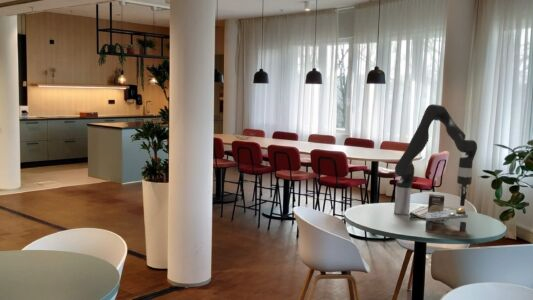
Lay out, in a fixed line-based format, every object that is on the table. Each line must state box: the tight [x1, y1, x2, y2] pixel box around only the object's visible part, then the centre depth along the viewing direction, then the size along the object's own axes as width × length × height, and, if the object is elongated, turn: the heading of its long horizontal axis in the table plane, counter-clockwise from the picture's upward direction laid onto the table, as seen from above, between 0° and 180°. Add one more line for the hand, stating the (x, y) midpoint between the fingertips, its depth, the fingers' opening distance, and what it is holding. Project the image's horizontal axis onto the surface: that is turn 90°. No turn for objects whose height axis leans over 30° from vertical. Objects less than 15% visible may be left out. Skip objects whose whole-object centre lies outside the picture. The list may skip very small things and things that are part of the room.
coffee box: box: [427, 193, 445, 225], centre depth 329 cm, size 9×6×16 cm
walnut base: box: [425, 220, 468, 237], centre depth 310 cm, size 22×17×6 cm
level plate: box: [425, 207, 469, 222], centre depth 309 cm, size 22×16×4 cm
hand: (462, 205), depth 306 cm, fingers closed
